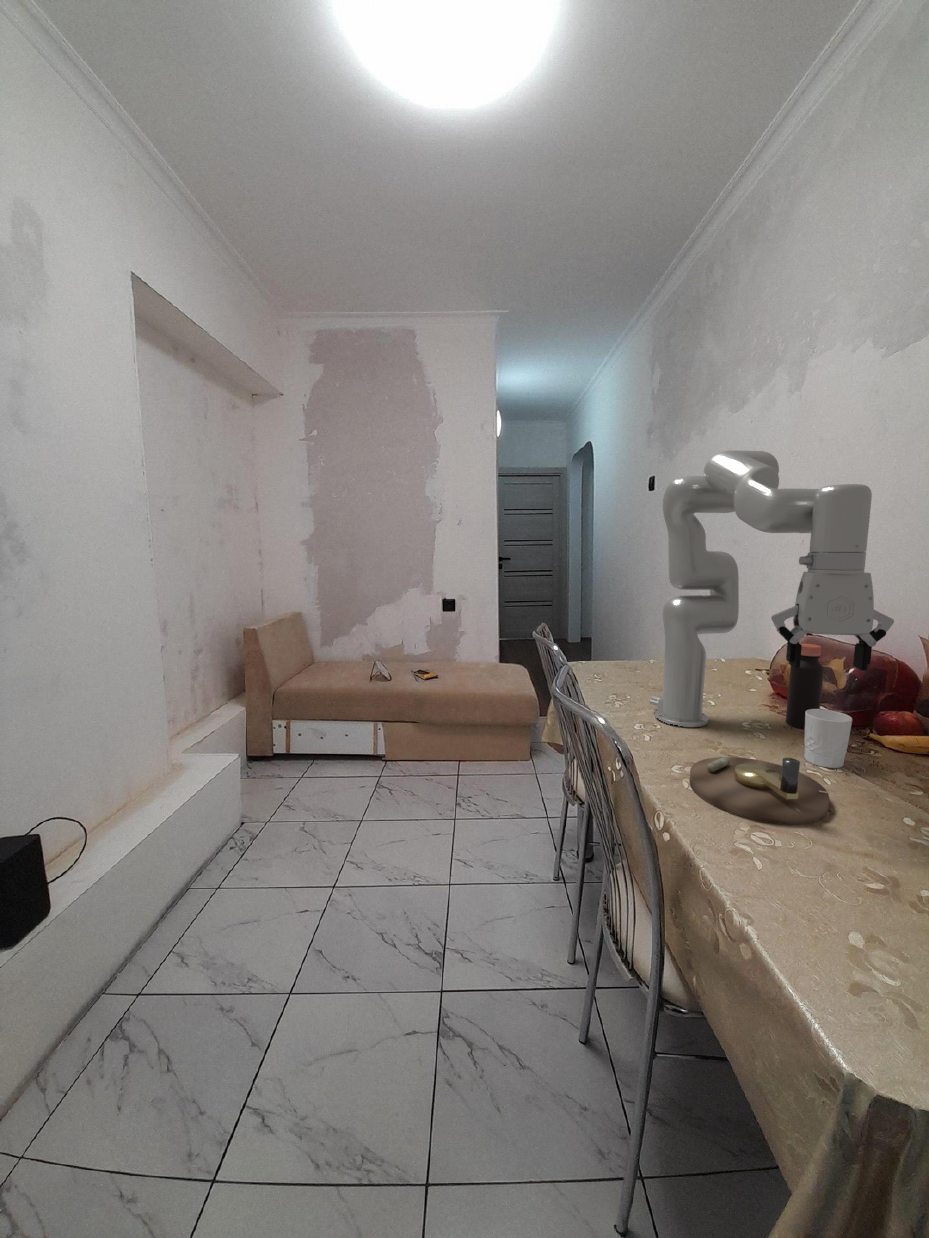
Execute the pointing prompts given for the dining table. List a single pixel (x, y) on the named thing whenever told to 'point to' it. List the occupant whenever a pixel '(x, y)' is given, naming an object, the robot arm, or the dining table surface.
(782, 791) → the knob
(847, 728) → the white cup
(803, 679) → the bottle
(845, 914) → the dining table surface
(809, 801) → the base plate
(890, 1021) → the dining table surface
